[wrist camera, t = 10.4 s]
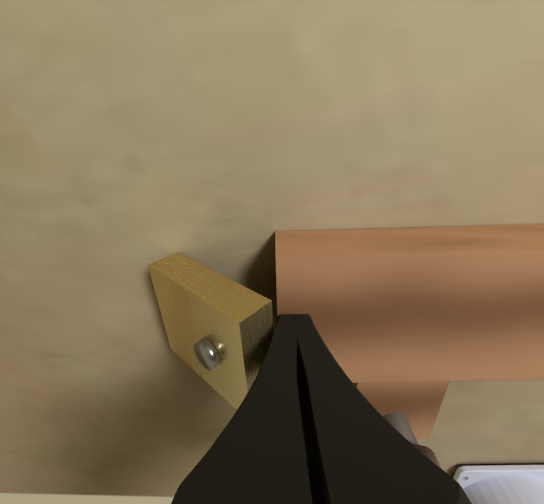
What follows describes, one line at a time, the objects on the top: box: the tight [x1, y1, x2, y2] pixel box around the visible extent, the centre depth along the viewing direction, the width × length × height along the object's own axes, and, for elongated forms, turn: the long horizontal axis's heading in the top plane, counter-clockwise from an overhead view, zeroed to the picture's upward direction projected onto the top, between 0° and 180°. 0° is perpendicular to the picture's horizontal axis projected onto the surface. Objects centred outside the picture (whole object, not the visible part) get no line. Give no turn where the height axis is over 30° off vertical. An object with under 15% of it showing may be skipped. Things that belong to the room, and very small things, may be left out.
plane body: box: [275, 224, 544, 445], centre depth 14 cm, size 12×18×4 cm, turn 92°
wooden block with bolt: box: [148, 253, 273, 410], centre depth 12 cm, size 5×6×2 cm
